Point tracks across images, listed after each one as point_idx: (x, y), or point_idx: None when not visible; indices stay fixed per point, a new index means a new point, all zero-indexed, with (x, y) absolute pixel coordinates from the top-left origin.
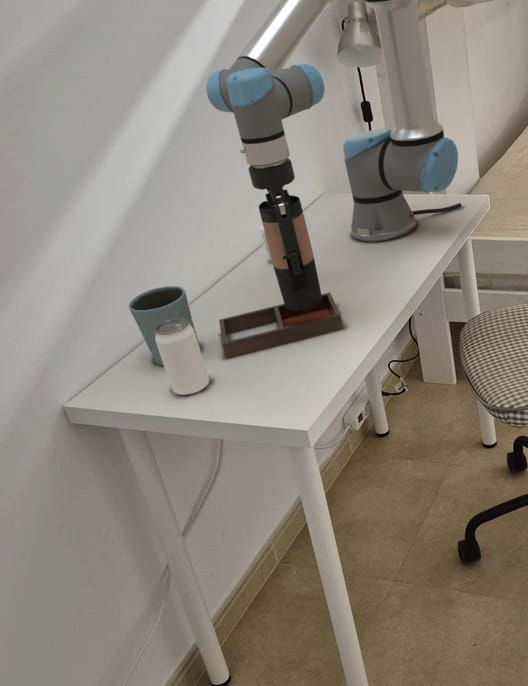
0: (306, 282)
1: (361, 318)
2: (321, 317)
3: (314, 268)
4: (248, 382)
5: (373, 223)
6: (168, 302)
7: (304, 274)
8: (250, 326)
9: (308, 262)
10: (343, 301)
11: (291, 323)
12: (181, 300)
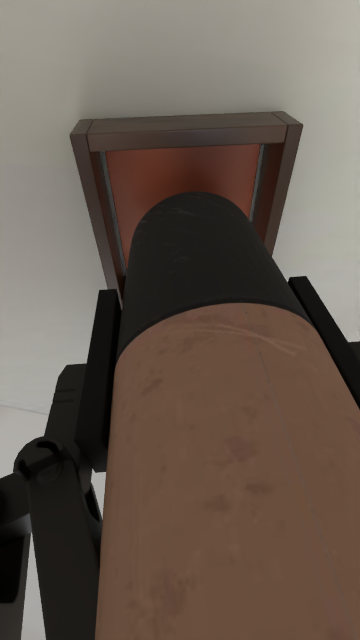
0: (313, 294)
1: (250, 7)
2: (164, 176)
3: (267, 274)
4: (346, 326)
5: None
6: None
7: (330, 322)
8: None
9: (315, 330)
10: (48, 66)
11: None
12: None
